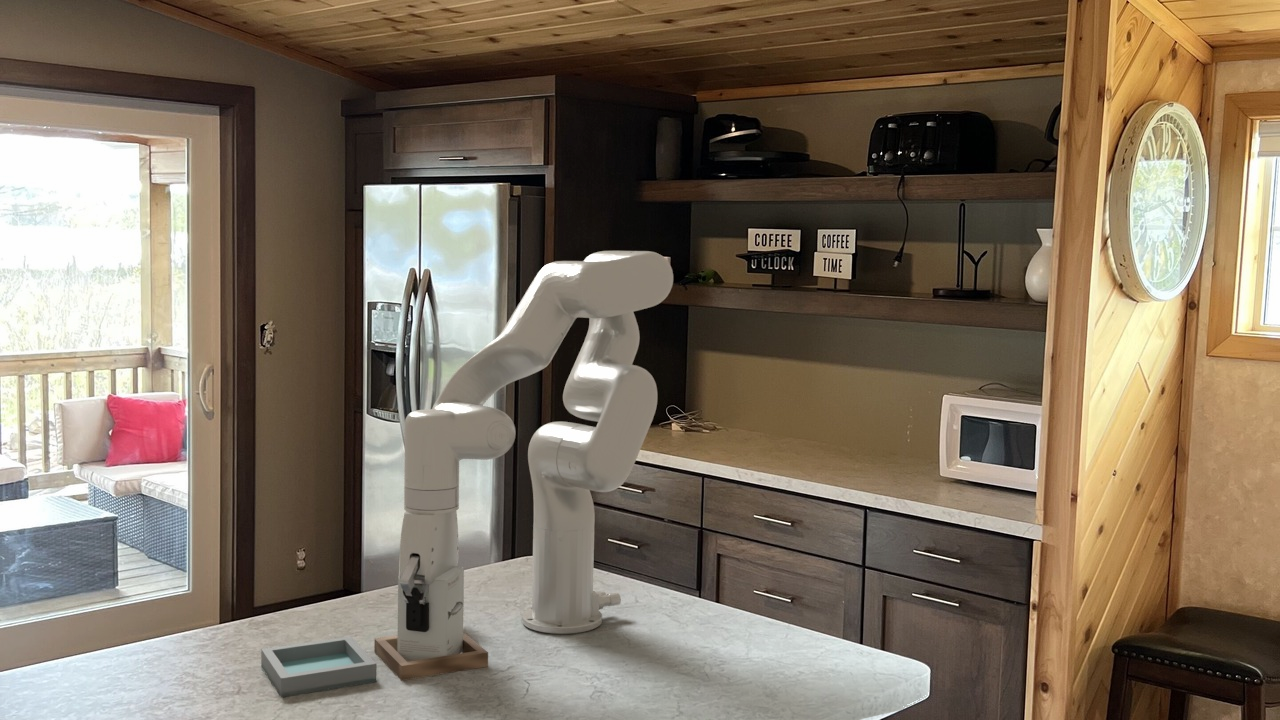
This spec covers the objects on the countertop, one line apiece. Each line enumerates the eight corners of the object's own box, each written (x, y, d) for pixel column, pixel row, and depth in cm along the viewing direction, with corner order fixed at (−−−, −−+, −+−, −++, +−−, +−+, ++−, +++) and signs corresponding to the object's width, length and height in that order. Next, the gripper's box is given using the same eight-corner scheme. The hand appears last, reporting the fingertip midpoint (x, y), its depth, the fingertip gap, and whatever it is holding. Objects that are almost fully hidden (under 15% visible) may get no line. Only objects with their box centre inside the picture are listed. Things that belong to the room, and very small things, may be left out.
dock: (351, 653, 162) (351, 636, 162) (376, 681, 151) (376, 663, 151) (261, 666, 156) (261, 648, 156) (281, 697, 145) (281, 678, 145)
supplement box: (446, 669, 156) (446, 580, 155) (395, 664, 158) (395, 575, 156) (464, 652, 163) (465, 566, 162) (416, 647, 165) (416, 562, 164)
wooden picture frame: (456, 639, 169) (456, 626, 169) (487, 666, 158) (488, 652, 158) (374, 652, 163) (374, 638, 163) (401, 680, 152) (401, 666, 152)
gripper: (434, 485, 168) (433, 601, 169) (377, 508, 151) (376, 638, 153) (481, 488, 166) (480, 606, 167) (428, 513, 149) (427, 644, 151)
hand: (430, 620), depth 160 cm, fingers closed on supplement box, 7 cm apart
